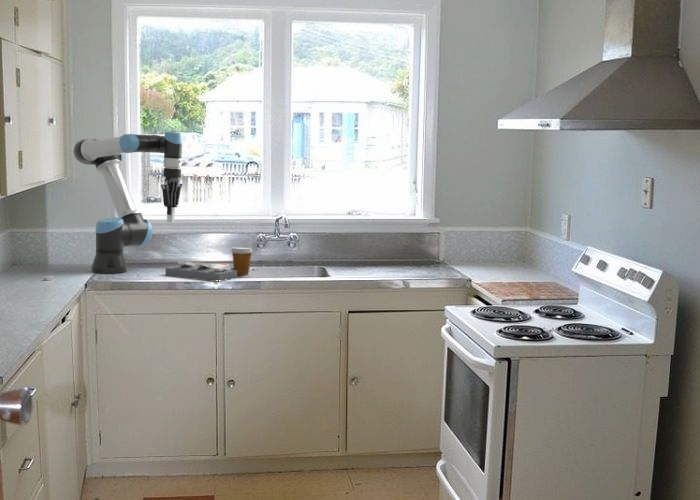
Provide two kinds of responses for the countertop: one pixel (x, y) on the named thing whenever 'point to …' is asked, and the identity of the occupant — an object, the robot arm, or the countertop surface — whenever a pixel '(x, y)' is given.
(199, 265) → the rocker middle
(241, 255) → the disposable coffee cup
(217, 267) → the rocker right
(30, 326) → the countertop surface
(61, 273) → the countertop surface
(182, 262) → the block
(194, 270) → the power strip
